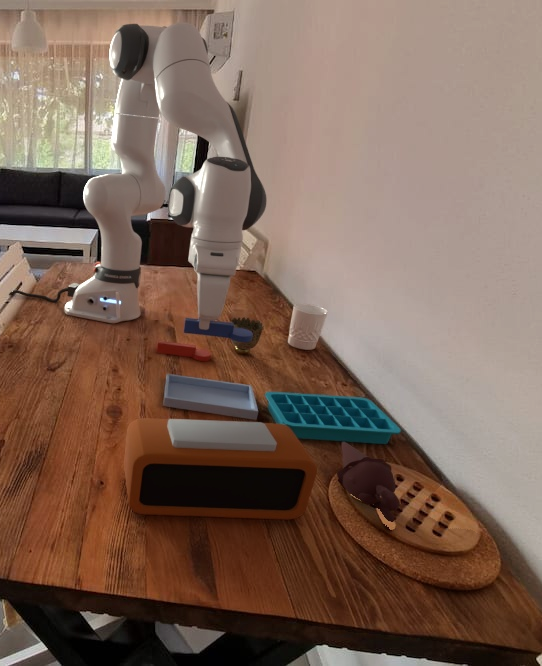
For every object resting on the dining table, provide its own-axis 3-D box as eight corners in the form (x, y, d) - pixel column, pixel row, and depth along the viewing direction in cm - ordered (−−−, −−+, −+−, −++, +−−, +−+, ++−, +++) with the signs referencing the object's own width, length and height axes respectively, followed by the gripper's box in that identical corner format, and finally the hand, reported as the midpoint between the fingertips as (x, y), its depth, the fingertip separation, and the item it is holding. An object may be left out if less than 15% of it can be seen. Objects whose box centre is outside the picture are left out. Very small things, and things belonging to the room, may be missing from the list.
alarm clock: (127, 515, 61) (134, 445, 57) (122, 473, 69) (128, 409, 65) (303, 521, 62) (324, 452, 57) (279, 479, 69) (296, 416, 65)
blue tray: (163, 406, 88) (164, 397, 87) (165, 381, 97) (166, 373, 96) (256, 420, 84) (258, 411, 84) (250, 393, 94) (251, 385, 93)
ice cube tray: (399, 447, 78) (404, 433, 77) (280, 439, 79) (284, 425, 78) (364, 411, 89) (368, 397, 88) (260, 404, 90) (263, 391, 89)
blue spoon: (183, 335, 87) (185, 322, 86) (183, 327, 91) (185, 315, 90) (253, 343, 84) (255, 330, 83) (250, 335, 88) (252, 322, 87)
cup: (259, 360, 109) (266, 329, 105) (227, 356, 110) (233, 326, 107) (255, 348, 115) (261, 318, 112) (225, 344, 117) (230, 315, 113)
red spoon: (156, 355, 109) (157, 345, 108) (157, 347, 113) (158, 338, 112) (210, 362, 107) (212, 352, 106) (209, 354, 111) (211, 344, 110)
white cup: (316, 341, 121) (325, 306, 117) (319, 353, 114) (329, 316, 110) (284, 336, 123) (292, 301, 120) (286, 347, 116) (294, 311, 113)
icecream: (318, 428, 71) (364, 503, 58) (369, 422, 70) (427, 497, 57) (318, 461, 75) (361, 540, 61) (366, 455, 73) (421, 535, 60)
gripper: (195, 242, 92) (186, 306, 97) (197, 265, 73) (186, 343, 79) (227, 244, 91) (217, 309, 96) (237, 268, 72) (223, 348, 78)
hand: (203, 325), depth 87 cm, fingers closed on blue spoon
